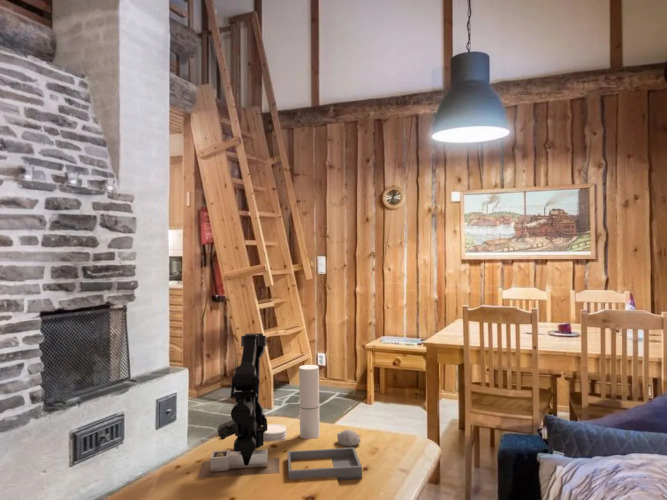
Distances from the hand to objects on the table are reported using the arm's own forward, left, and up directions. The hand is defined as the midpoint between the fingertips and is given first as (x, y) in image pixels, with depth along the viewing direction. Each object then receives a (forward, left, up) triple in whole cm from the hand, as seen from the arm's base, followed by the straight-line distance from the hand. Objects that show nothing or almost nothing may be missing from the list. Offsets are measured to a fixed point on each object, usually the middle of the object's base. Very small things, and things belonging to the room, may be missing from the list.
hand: (246, 462), depth 159 cm
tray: (-20, +13, -2) cm, 24 cm away
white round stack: (-18, -21, -3) cm, 28 cm away
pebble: (-38, -1, -3) cm, 38 cm away
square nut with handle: (+2, -1, -1) cm, 2 cm away
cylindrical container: (-30, -15, -3) cm, 34 cm away
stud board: (+2, -1, -2) cm, 3 cm away
